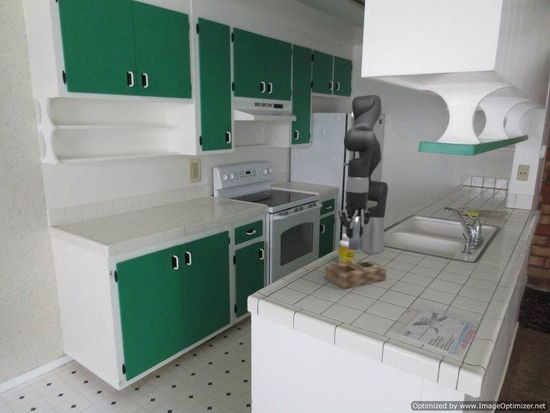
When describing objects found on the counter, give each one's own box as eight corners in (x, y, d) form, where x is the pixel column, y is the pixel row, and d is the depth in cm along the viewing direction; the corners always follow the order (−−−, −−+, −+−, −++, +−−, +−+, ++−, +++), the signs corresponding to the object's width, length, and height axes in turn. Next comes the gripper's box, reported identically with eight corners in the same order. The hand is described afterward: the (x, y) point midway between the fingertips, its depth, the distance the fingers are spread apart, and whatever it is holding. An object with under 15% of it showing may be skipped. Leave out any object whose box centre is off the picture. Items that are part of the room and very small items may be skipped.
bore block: (365, 269, 164) (366, 257, 163) (385, 280, 154) (386, 267, 153) (325, 277, 155) (325, 265, 154) (343, 289, 145) (344, 275, 144)
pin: (354, 245, 144) (356, 213, 141) (360, 248, 141) (362, 216, 138) (346, 247, 142) (348, 215, 139) (352, 250, 139) (354, 217, 136)
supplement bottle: (346, 267, 166) (348, 238, 163) (334, 262, 171) (336, 234, 168) (357, 264, 170) (359, 235, 167) (345, 260, 175) (347, 232, 172)
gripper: (366, 185, 143) (363, 231, 147) (333, 189, 136) (331, 236, 140) (380, 189, 136) (376, 237, 140) (347, 193, 130) (344, 243, 134)
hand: (354, 236), depth 140 cm, fingers closed on pin, 3 cm apart
